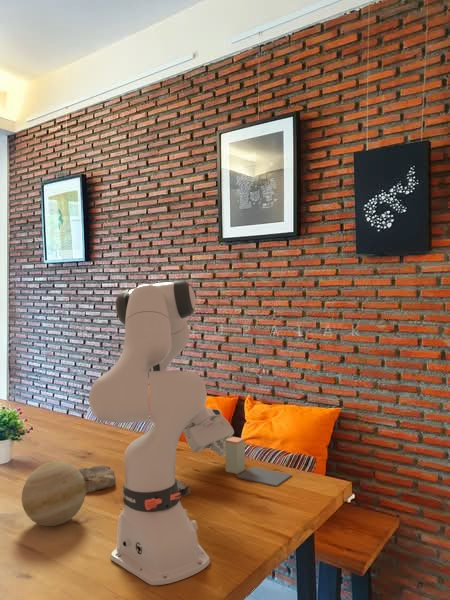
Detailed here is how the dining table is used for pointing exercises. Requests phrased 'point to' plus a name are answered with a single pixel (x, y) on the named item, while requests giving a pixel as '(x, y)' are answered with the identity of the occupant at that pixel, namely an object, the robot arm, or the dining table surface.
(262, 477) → the mat
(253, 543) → the dining table surface
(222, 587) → the dining table surface
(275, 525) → the dining table surface
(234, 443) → the block
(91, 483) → the grey rock
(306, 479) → the dining table surface
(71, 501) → the decorative ball
